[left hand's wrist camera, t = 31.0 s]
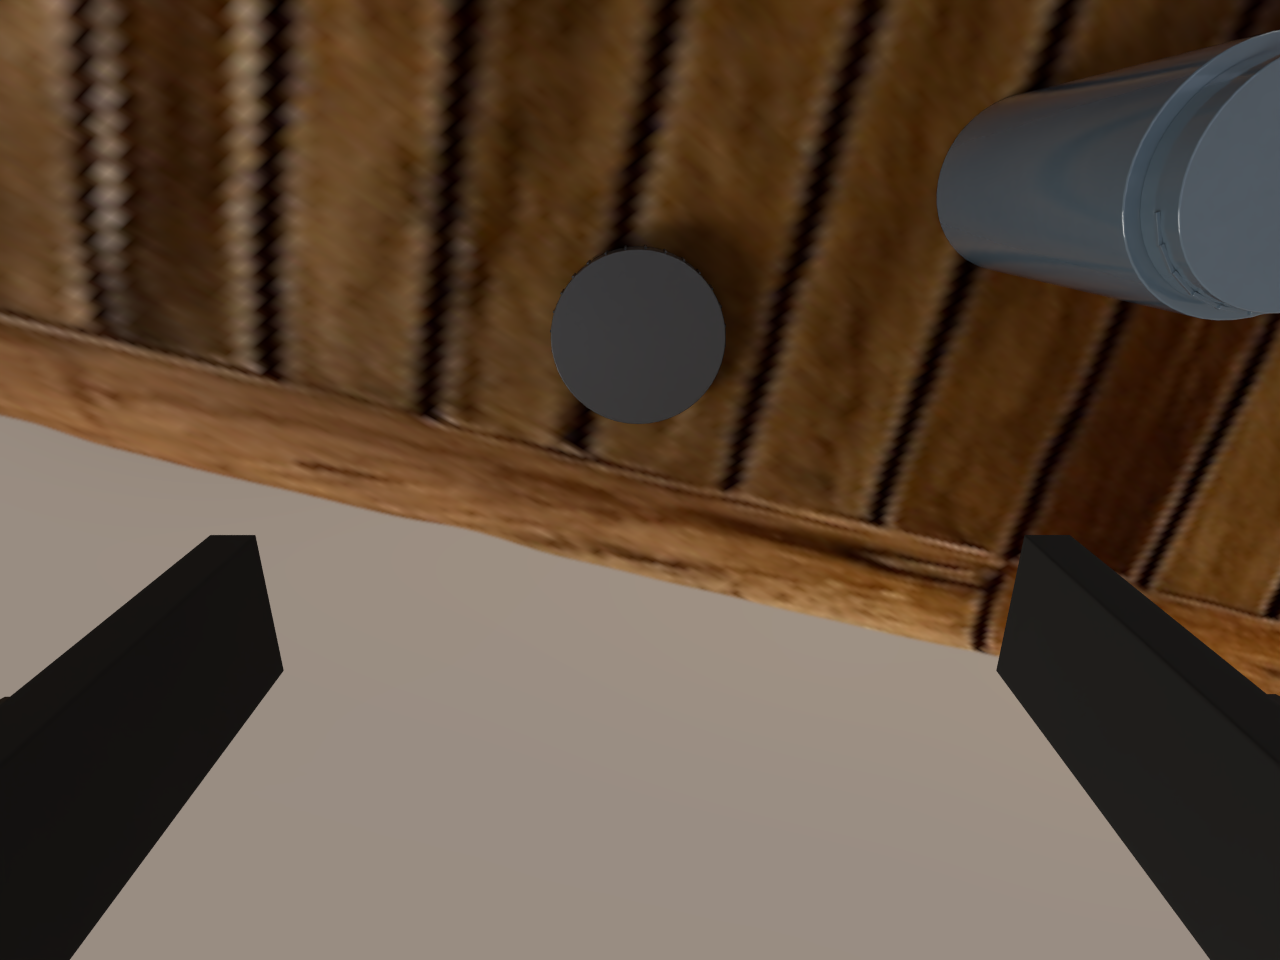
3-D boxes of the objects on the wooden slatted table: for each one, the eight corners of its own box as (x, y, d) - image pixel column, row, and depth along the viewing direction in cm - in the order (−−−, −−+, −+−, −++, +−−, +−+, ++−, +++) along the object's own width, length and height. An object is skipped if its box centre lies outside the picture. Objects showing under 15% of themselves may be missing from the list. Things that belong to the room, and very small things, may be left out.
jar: (1067, 283, 38) (1370, 351, 22) (915, 256, 37) (1114, 304, 22) (1132, 109, 35) (1534, 45, 19) (967, 77, 34) (1241, -17, 19)
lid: (532, 270, 38) (526, 275, 36) (701, 224, 37) (704, 226, 35) (581, 431, 41) (578, 442, 39) (738, 391, 40) (742, 401, 38)
